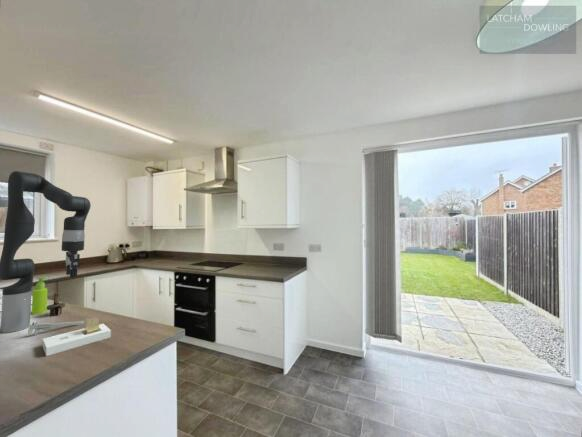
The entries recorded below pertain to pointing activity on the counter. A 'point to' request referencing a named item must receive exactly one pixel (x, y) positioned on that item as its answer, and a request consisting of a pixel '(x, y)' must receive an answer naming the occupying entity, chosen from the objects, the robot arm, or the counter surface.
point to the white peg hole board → (73, 339)
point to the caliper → (49, 325)
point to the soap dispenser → (40, 297)
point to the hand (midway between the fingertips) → (71, 276)
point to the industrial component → (56, 306)
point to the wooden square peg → (91, 325)
